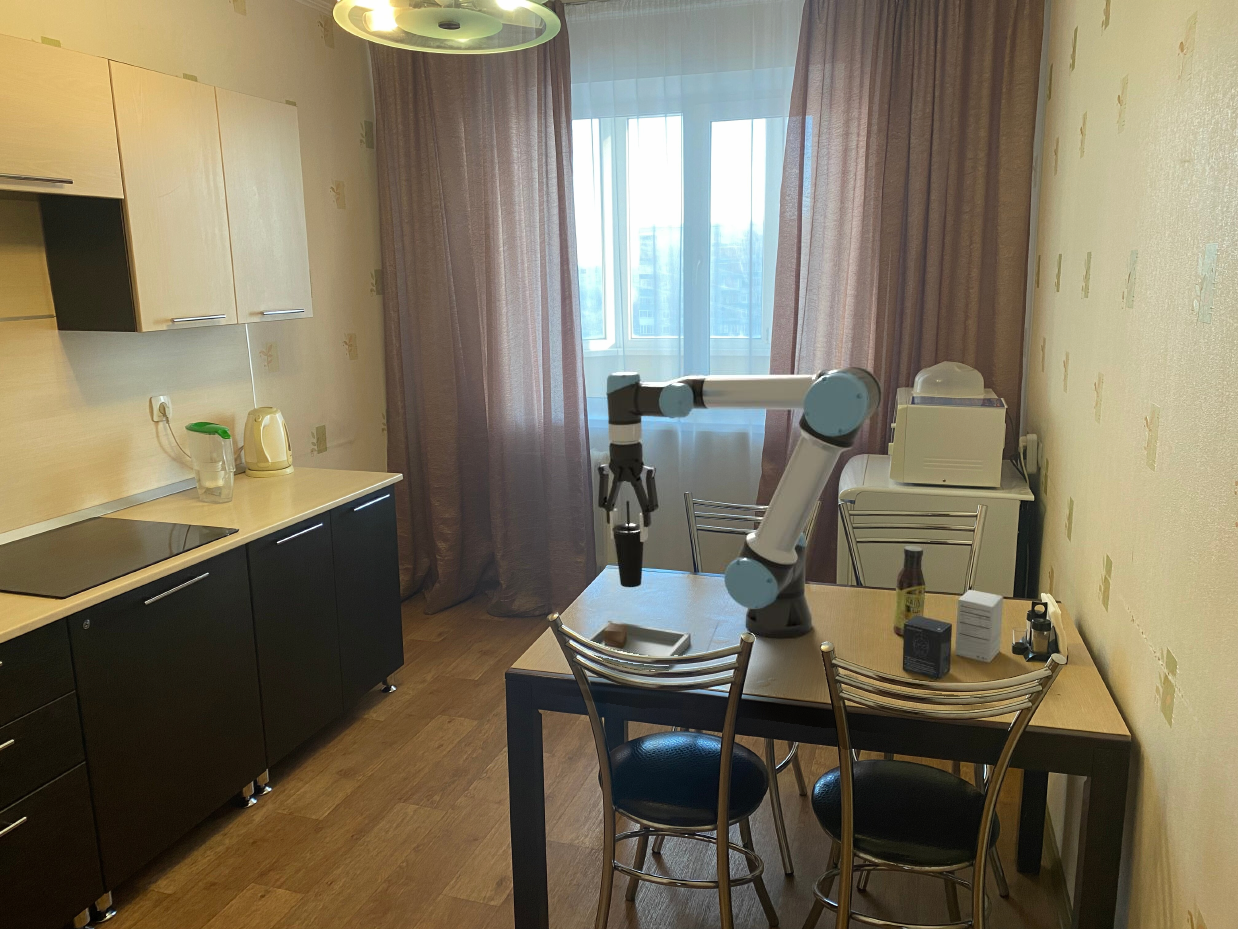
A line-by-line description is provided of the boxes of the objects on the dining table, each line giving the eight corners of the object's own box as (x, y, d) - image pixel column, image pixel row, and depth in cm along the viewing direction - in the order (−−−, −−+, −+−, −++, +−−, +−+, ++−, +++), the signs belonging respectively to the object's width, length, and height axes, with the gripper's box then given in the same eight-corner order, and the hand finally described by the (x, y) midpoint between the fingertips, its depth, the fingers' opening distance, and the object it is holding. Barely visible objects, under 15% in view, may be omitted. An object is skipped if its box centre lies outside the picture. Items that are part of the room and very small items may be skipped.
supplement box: (965, 643, 197) (969, 588, 194) (1000, 651, 193) (1004, 595, 190) (953, 654, 192) (957, 598, 189) (989, 663, 187) (993, 606, 184)
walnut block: (626, 641, 201) (626, 624, 200) (622, 649, 197) (621, 631, 196) (609, 640, 202) (609, 623, 201) (604, 647, 198) (604, 630, 197)
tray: (690, 645, 199) (690, 633, 199) (666, 671, 187) (666, 658, 186) (609, 632, 208) (608, 620, 207) (581, 656, 195) (580, 643, 195)
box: (950, 671, 184) (953, 623, 181) (938, 681, 180) (941, 631, 177) (913, 661, 189) (915, 613, 187) (901, 670, 185) (903, 622, 183)
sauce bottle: (905, 639, 200) (909, 554, 195) (887, 629, 205) (890, 546, 201) (929, 634, 202) (933, 550, 198) (910, 625, 208) (914, 542, 203)
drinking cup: (644, 590, 206) (641, 505, 202) (611, 589, 208) (607, 505, 204) (649, 579, 214) (646, 497, 209) (618, 578, 215) (614, 497, 211)
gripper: (672, 439, 203) (674, 537, 208) (594, 436, 211) (598, 530, 216) (659, 446, 196) (662, 547, 201) (579, 442, 204) (584, 539, 209)
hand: (629, 538), depth 208 cm, fingers closed on drinking cup, 7 cm apart
